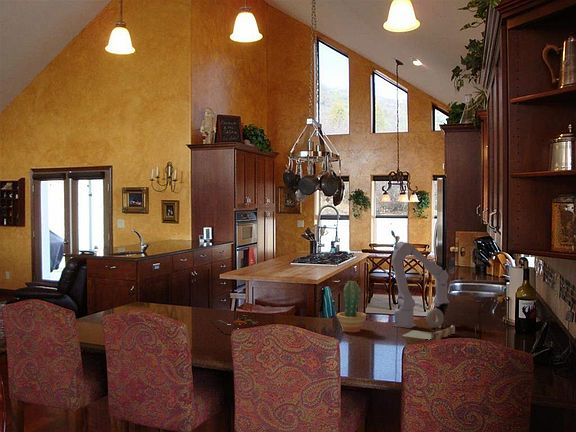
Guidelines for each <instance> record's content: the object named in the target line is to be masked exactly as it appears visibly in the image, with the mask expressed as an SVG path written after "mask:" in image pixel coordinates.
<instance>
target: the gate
mask: <svg viewBox="0 0 576 432" xmlns="http://www.w3.org/2000/svg"><path fill="white" fill-rule="evenodd" d="M451 334H453V327H451V326H450V327H447V328H444V329H440V330H438V331H436V332H432V333H431V340H435V339H438V340H440V339H443V338H442V337H444V338H446V337H449V336H452V335H451ZM448 335H449V336H448ZM431 340H430V341H431ZM435 341H436V340H435Z"/></svg>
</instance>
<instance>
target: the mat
mask: <svg viewBox="0 0 576 432" xmlns="http://www.w3.org/2000/svg"><path fill="white" fill-rule="evenodd" d="M431 333H433V332H430V331H421V330H410V331H409V332H406V333H404V334H403V335H401V337H404V338H412V339H420V340H425V339H428V340H427V341H431V340H430V339H431Z"/></svg>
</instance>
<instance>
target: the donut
mask: <svg viewBox="0 0 576 432" xmlns="http://www.w3.org/2000/svg"><path fill="white" fill-rule="evenodd" d="M435 316H436V320H434V317H435ZM425 318H426V323H427V326H429V327H430V328H433V329H436V328H439V327H441V326H442V325H443V323H444V320H445V316H443V313H442V312H441V310H439V309H436V308H432V309H431V308H430V310H429V311H428V312H427V314H426V317H425Z"/></svg>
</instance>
